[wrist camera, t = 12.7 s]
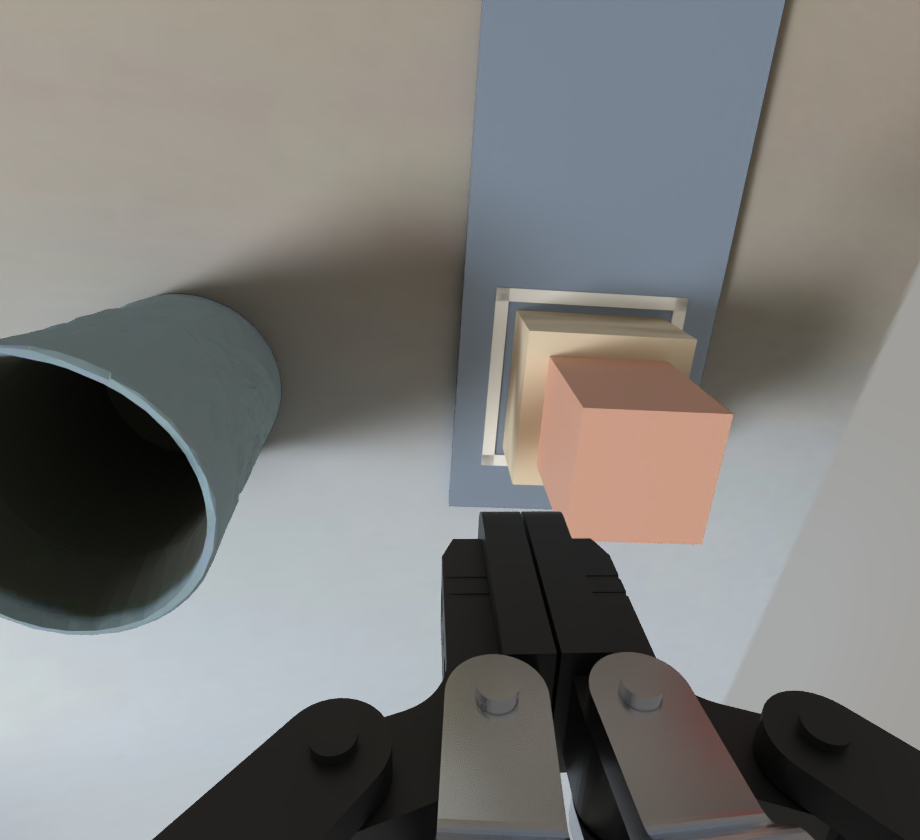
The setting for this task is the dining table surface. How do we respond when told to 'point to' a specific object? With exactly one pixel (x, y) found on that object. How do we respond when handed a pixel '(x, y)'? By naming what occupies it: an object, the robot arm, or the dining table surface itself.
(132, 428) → the grey-green pot
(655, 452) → the terracotta block
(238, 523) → the dining table surface
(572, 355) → the oak base block
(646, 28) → the board
